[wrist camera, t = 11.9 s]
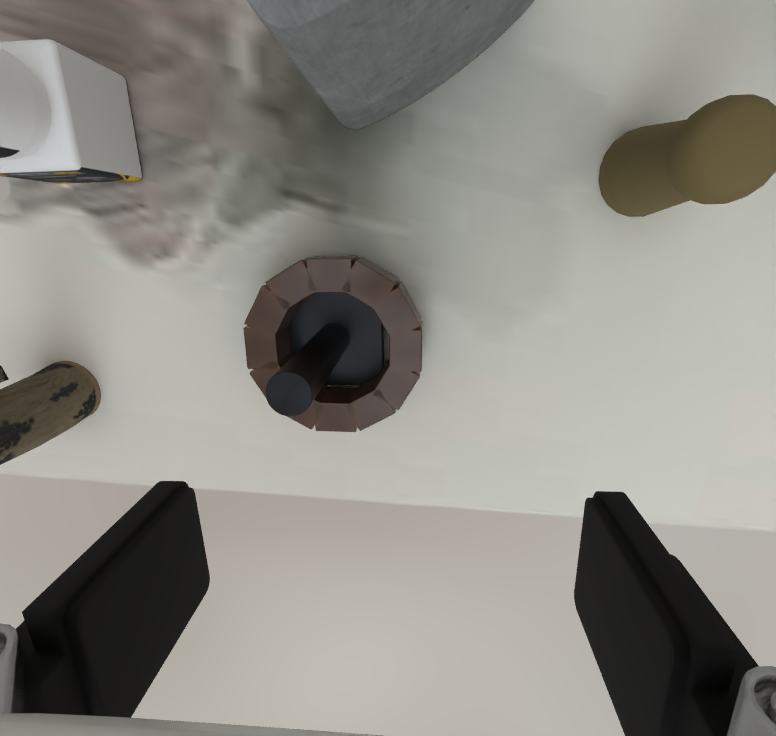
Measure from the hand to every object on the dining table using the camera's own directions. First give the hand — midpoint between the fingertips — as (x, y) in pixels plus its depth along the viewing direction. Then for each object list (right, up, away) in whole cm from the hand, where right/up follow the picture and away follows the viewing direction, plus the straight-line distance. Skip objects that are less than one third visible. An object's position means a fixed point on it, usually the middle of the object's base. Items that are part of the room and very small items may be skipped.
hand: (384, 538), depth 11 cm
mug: (-29, +3, +30) cm, 42 cm away
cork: (+18, +18, +22) cm, 34 cm away
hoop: (-4, +6, +26) cm, 27 cm away
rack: (-4, +7, +27) cm, 28 cm away
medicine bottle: (-23, +22, +24) cm, 40 cm away
